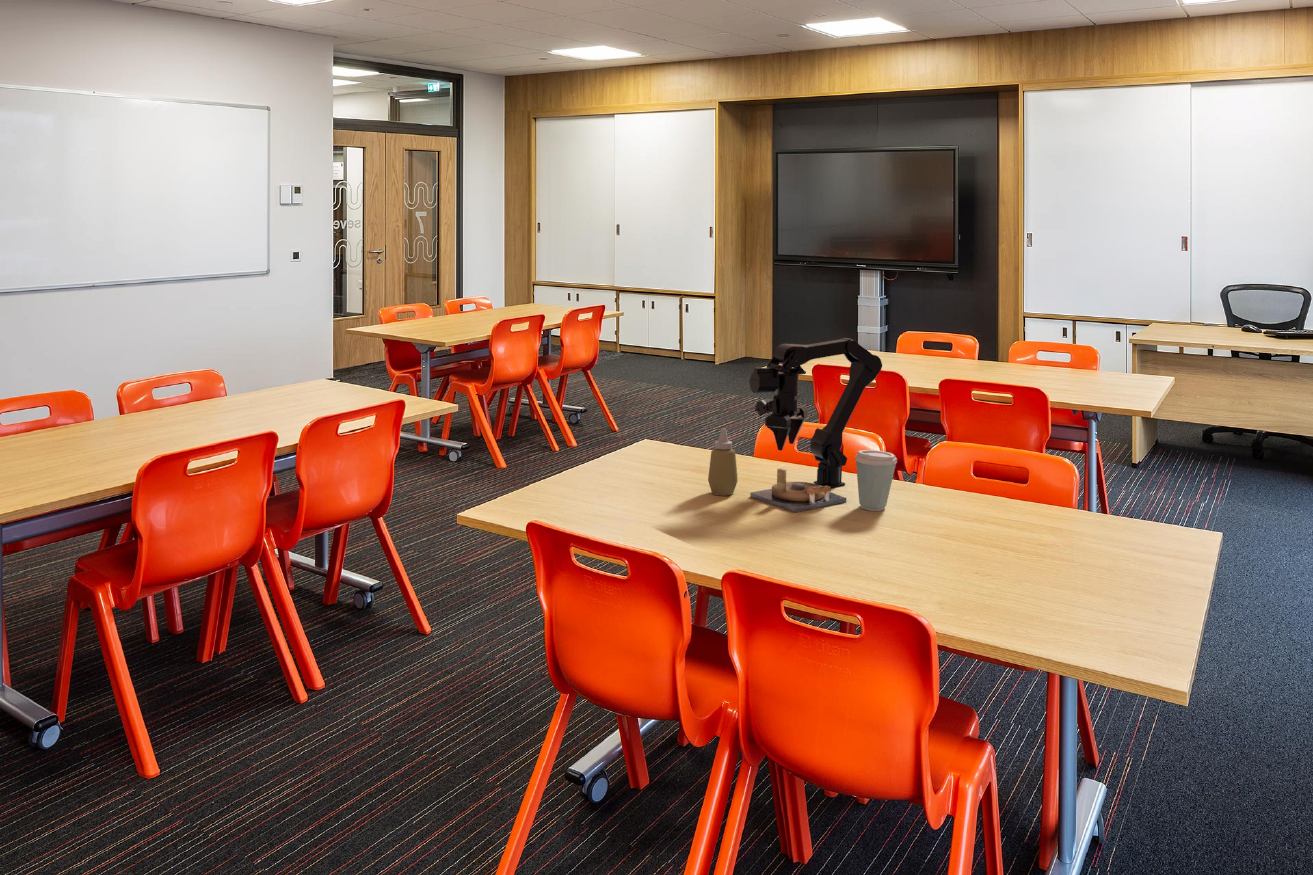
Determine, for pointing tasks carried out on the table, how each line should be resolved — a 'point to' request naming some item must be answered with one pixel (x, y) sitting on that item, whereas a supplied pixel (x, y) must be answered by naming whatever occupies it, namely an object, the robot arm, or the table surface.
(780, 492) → the cam dial
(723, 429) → the squeeze bottle
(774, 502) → the level stand
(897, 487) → the table surface
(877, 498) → the disposable coffee cup
